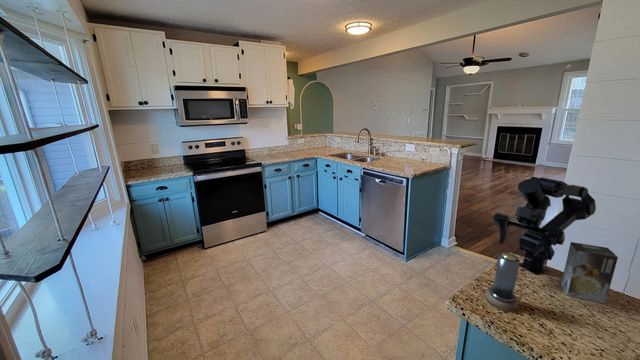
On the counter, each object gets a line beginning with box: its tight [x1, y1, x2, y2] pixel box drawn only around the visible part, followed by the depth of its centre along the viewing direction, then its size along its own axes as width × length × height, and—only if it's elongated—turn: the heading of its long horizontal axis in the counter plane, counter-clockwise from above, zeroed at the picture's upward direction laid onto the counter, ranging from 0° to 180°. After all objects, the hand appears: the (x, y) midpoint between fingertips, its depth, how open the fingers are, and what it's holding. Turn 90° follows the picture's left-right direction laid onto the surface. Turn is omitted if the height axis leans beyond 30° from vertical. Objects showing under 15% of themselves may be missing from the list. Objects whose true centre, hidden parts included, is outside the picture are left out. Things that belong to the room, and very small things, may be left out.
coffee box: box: [560, 241, 619, 304], centre depth 83 cm, size 9×6×16 cm
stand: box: [484, 286, 519, 312], centre depth 82 cm, size 8×8×2 cm
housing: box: [490, 251, 521, 303], centre depth 80 cm, size 6×6×14 cm
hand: (516, 249), depth 86 cm, fingers open, 9 cm apart
